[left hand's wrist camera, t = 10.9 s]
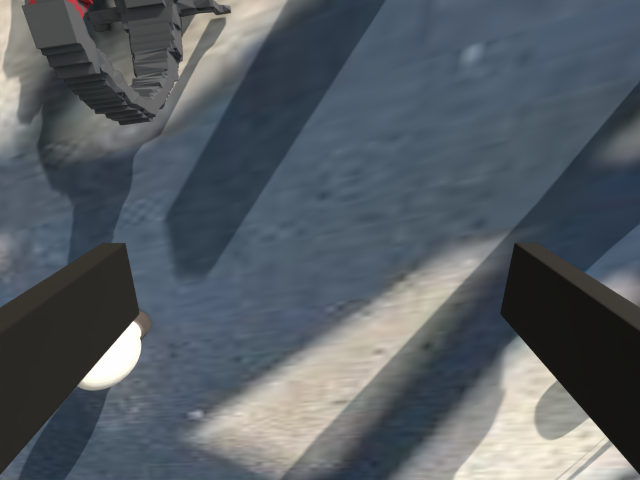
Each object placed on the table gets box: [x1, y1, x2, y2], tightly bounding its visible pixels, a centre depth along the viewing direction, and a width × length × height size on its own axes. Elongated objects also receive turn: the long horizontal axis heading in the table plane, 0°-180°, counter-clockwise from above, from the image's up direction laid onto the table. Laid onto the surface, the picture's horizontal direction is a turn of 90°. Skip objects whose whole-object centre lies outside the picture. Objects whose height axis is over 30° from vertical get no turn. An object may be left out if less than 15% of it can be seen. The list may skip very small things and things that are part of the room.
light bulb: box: [78, 311, 151, 390], centre depth 42 cm, size 7×7×11 cm
